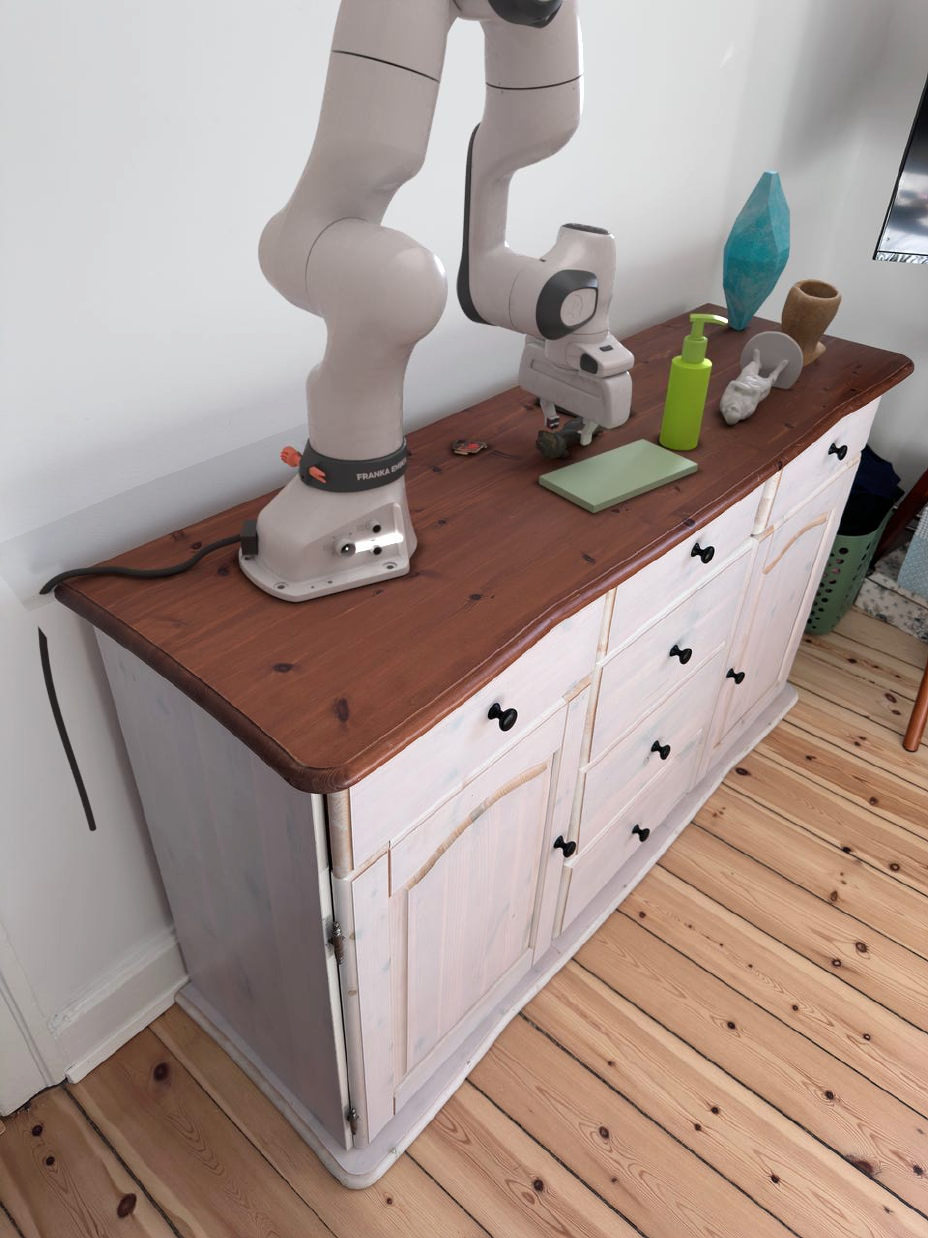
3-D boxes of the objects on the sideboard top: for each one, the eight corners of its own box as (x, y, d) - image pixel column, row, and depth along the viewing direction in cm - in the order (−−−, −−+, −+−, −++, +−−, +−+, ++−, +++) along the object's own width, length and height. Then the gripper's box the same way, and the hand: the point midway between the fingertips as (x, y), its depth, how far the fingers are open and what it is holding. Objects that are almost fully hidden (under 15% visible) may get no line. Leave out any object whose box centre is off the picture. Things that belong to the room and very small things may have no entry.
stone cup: (809, 378, 171) (829, 296, 162) (749, 363, 177) (766, 282, 168) (839, 358, 180) (860, 279, 172) (782, 344, 186) (799, 267, 178)
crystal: (781, 326, 196) (816, 171, 179) (753, 341, 187) (787, 180, 170) (728, 313, 202) (757, 163, 185) (699, 328, 193) (726, 171, 176)
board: (593, 513, 126) (594, 505, 125) (538, 483, 133) (539, 476, 132) (696, 471, 138) (698, 463, 137) (641, 445, 145) (642, 438, 144)
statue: (572, 444, 150) (519, 467, 134) (573, 410, 148) (519, 429, 132) (609, 447, 147) (559, 471, 131) (610, 412, 146) (560, 432, 129)
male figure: (811, 335, 161) (764, 385, 144) (799, 387, 167) (753, 442, 150) (749, 322, 165) (697, 370, 149) (740, 374, 171) (688, 425, 155)
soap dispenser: (703, 452, 143) (728, 323, 131) (658, 448, 144) (679, 319, 132) (703, 437, 148) (727, 311, 136) (659, 433, 149) (679, 307, 137)
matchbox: (455, 440, 144) (455, 437, 144) (488, 443, 143) (488, 441, 143) (449, 453, 140) (450, 450, 140) (483, 456, 140) (483, 453, 139)
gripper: (511, 329, 136) (506, 417, 144) (611, 369, 124) (600, 464, 131) (542, 321, 140) (536, 408, 148) (643, 360, 127) (630, 453, 135)
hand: (567, 435), depth 139 cm, fingers closed on statue, 5 cm apart
